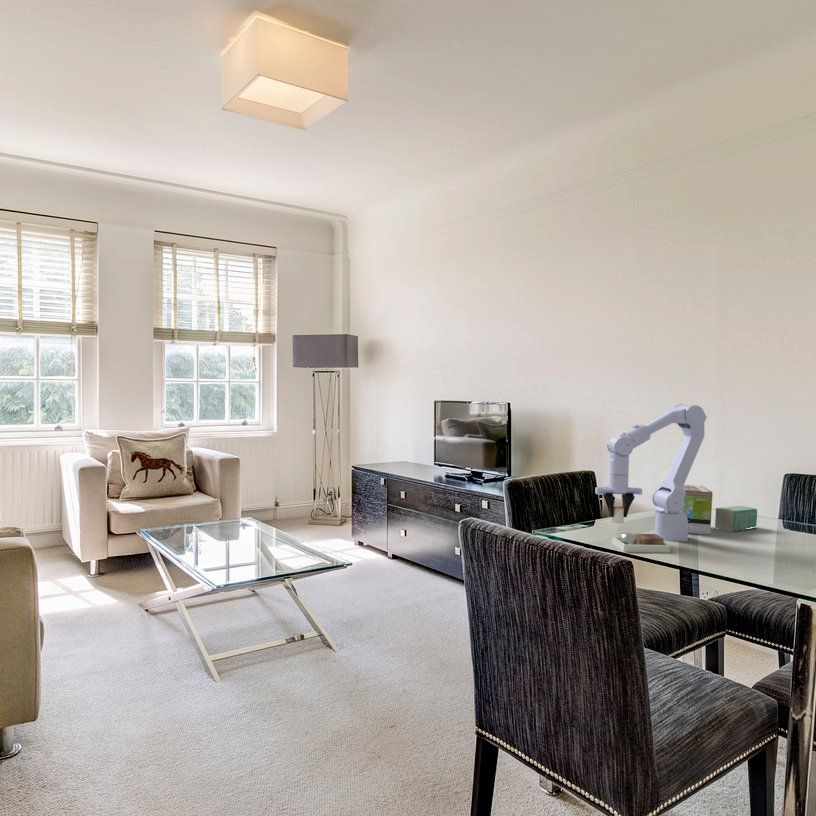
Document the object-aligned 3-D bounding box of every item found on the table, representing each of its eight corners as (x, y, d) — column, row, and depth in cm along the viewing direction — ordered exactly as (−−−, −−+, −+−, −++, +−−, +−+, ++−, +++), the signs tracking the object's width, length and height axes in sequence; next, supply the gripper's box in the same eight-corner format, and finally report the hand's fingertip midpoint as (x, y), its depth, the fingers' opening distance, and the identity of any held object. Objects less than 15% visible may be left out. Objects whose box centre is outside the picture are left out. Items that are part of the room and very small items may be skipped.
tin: (633, 545, 207) (633, 533, 207) (638, 549, 203) (638, 536, 203) (618, 545, 207) (619, 532, 207) (623, 549, 203) (624, 536, 203)
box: (757, 529, 239) (758, 507, 238) (733, 532, 232) (734, 511, 232) (737, 525, 245) (738, 504, 245) (714, 528, 238) (715, 507, 238)
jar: (621, 520, 219) (622, 505, 219) (625, 523, 215) (626, 507, 215) (609, 520, 219) (610, 505, 219) (613, 523, 215) (614, 507, 215)
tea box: (711, 535, 227) (713, 491, 226) (679, 533, 229) (681, 489, 228) (701, 525, 242) (703, 484, 241) (671, 524, 244) (673, 483, 243)
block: (655, 545, 208) (655, 534, 208) (663, 550, 202) (663, 538, 202) (635, 545, 208) (636, 533, 208) (643, 550, 202) (643, 538, 202)
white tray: (655, 545, 211) (656, 537, 211) (669, 553, 200) (669, 545, 200) (612, 544, 210) (612, 537, 210) (623, 552, 200) (624, 545, 200)
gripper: (636, 472, 221) (635, 514, 221) (592, 472, 220) (591, 513, 221) (645, 475, 214) (643, 518, 214) (599, 475, 213) (598, 518, 214)
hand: (617, 516), depth 217 cm, fingers closed on jar, 4 cm apart
